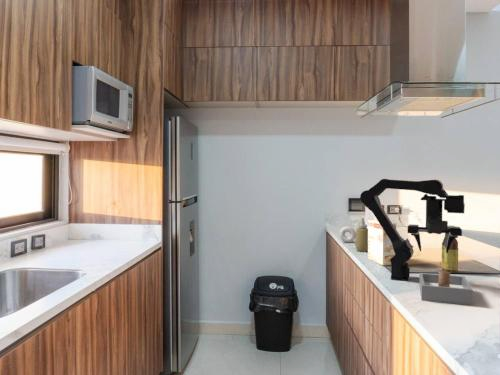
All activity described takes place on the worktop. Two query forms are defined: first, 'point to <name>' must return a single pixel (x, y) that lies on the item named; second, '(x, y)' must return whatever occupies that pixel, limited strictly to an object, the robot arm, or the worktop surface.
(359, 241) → the squeeze bottle
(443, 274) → the peg
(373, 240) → the coffeecake box
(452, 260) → the sauce bottle
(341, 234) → the donut
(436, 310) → the worktop surface
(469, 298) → the box
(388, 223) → the robot arm
